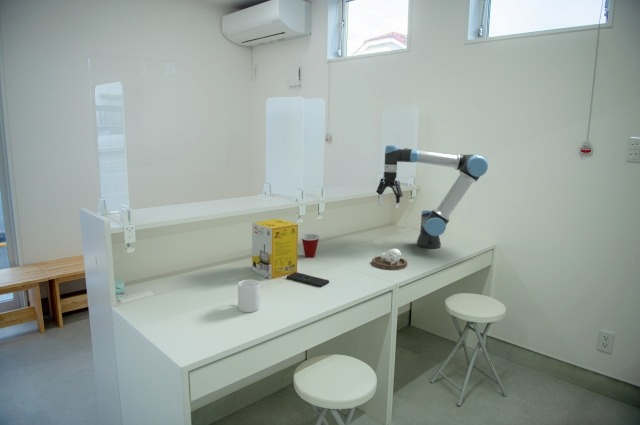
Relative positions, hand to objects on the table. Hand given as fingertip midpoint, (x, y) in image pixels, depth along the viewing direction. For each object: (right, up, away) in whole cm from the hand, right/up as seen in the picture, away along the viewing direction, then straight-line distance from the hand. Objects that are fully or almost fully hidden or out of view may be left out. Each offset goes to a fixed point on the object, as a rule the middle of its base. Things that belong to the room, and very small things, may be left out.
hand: (388, 206), depth 258 cm
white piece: (-4, -31, -26) cm, 41 cm away
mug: (-71, -42, -87) cm, 120 cm away
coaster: (-3, -32, -26) cm, 41 cm away
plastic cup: (-48, -29, -15) cm, 58 cm away
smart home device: (-48, -37, -54) cm, 81 cm away
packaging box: (-65, -34, -43) cm, 84 cm away
